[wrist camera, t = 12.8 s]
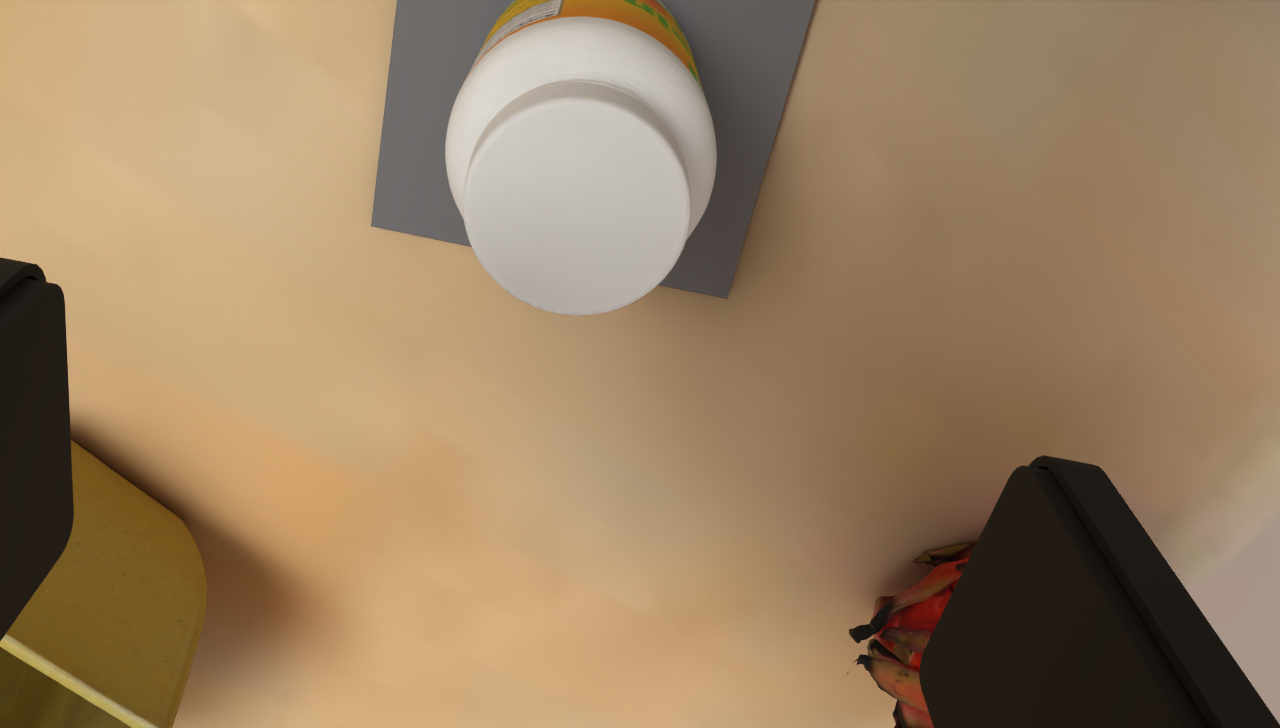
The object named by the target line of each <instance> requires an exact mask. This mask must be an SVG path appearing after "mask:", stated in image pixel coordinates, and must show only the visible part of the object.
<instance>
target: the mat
mask: <svg viewBox="0 0 1280 728" xmlns="http://www.w3.org/2000/svg"><path fill="white" fill-rule="evenodd" d="M513 1H514V0H397V6H396V14H395V23H394V32H393V40H392V49H391V58H390V66H389V75H388V84H387V92H386V101H385V110H384V118H383V127H382V136H381V144H380V153H379V162H378V170H377V179H376V187H375V196H374V205H373V213H372V222H371V226H372V227H377V228H382V229H387V230H392V231H397V232H402V233H407V234H412V235H416V236H421V237H426V238H431V239H436V240H441V241H446V242H451V243H456V244H461V245H465V246H470V247H472V246H471V244H470V241H469V239H468V236H467V232H466V229H465V224H464V219H463V217H462V215H461V213H460V211H459V209H458V207H457V205H456V203H455V200H454V198H453V195H452V192H451V189H450V185H449V181H448V176H447V169H446V159H445V145H446V134H447V128H448V123H449V119H450V115H451V111H452V108H453V105H454V103H455V100H456V98H457V95H458V93H459V91H460V89H461V87H462V85H463V83H464V81H465V79H466V78H467V76H468V74H469V72H470V70H471V68H472V66H473V64H474V62H475V60H476V58H477V56H478V54H479V52H480V50H481V48H482V46H483V45H484V43H485V41H486V39H487V37H488V35H489V33H490V31H491V30H492V28H493V26H494V24H495V23H496V21H497V20H498V19H499V17H500V16H501V15H502V13H503V12H504V11H505V9H506V8H507V7H508V6H509V5H510V4H511V3H512V2H513ZM660 1H661V2H662V3H663V4H664V6H665V7H666V8H667V9H668V10H669V11H670V12H671V14H672V15H673V16H674V18H675V19H676V21H677V22H678V24H679V25H680V27H681V29H682V31H683V33H684V35H685V37H686V39H687V42H688V44H689V46H690V49H691V52H692V55H693V59H694V62H695V66H696V69H697V72H698V76H699V79H700V82H701V85H702V89H703V92H704V95H705V98H706V101H707V104H708V107H709V110H710V114H711V117H712V121H713V127H714V132H715V138H716V150H717V162H716V173H715V180H714V185H713V189H712V193H711V196H710V199H709V202H708V205H707V207H706V210H705V212H704V214H703V216H702V217H701V219H700V221H699V222H698V224H697V226H696V227H695V229H694V230H693V232H692V233H691V235H690V236H689V238H688V239H687V240H686V243H685V246H684V248H683V250H682V252H681V254H680V256H679V258H678V260H677V262H676V263H675V265H674V267H673V268H672V269H671V271H670V272H669V273H668V274H667V276H666V277H665V278H664V279H663V280H662V281H661V282H660V283H659V284H658V285H661V286H666V287H671V288H676V289H681V290H686V291H691V292H696V293H701V294H705V295H710V296H715V297H720V298H725V299H727V297H728V294H729V290H730V287H731V284H732V280H733V277H734V273H735V270H736V267H737V263H738V260H739V257H740V253H741V250H742V246H743V243H744V240H745V236H746V233H747V230H748V226H749V223H750V219H751V216H752V213H753V209H754V206H755V203H756V199H757V196H758V193H759V189H760V186H761V182H762V179H763V176H764V172H765V169H766V166H767V162H768V159H769V155H770V152H771V149H772V145H773V142H774V139H775V135H776V132H777V128H778V125H779V122H780V118H781V115H782V112H783V108H784V105H785V101H786V98H787V95H788V91H789V88H790V85H791V81H792V78H793V74H794V71H795V68H796V64H797V61H798V58H799V54H800V51H801V47H802V44H803V41H804V37H805V34H806V31H807V27H808V24H809V20H810V17H811V14H812V10H813V7H814V4H815V0H660Z"/></svg>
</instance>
